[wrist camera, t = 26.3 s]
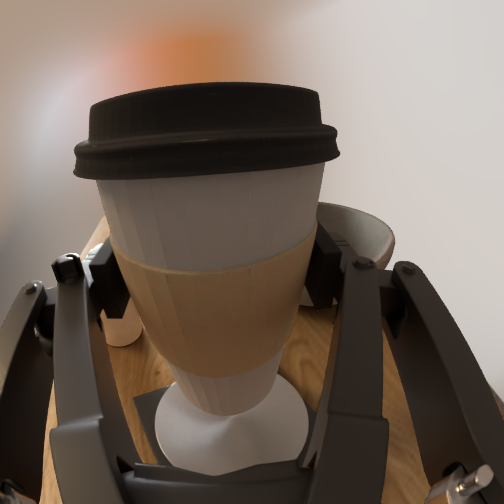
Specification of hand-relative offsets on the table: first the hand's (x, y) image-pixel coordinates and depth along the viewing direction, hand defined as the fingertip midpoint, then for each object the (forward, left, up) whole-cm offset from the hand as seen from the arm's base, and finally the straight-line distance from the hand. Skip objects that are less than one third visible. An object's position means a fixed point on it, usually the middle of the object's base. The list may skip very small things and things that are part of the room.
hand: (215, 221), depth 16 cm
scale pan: (+4, -2, -14) cm, 15 cm away
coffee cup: (+4, -2, -8) cm, 9 cm away
